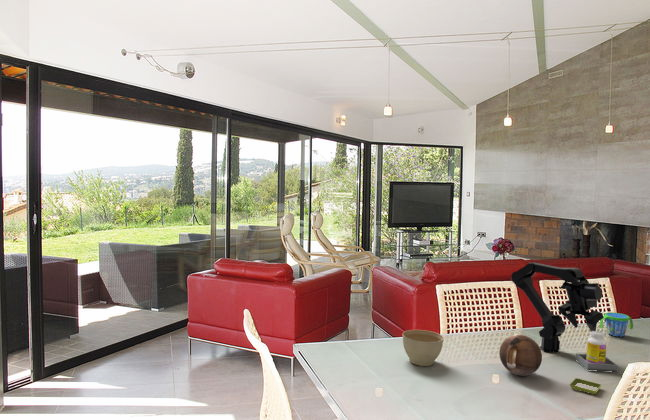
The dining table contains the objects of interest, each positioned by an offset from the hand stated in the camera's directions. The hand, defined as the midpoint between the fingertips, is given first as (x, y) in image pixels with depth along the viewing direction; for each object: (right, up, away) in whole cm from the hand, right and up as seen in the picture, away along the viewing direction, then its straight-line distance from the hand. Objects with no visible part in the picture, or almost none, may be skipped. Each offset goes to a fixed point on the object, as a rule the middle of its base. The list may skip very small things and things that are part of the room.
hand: (585, 330), depth 207 cm
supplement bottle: (-2, -11, -11) cm, 16 cm away
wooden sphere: (-37, -11, -22) cm, 45 cm away
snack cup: (+32, -11, +32) cm, 47 cm away
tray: (-2, -12, -11) cm, 17 cm away
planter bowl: (-72, -10, -13) cm, 74 cm away
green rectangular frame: (-18, -13, -34) cm, 41 cm away
